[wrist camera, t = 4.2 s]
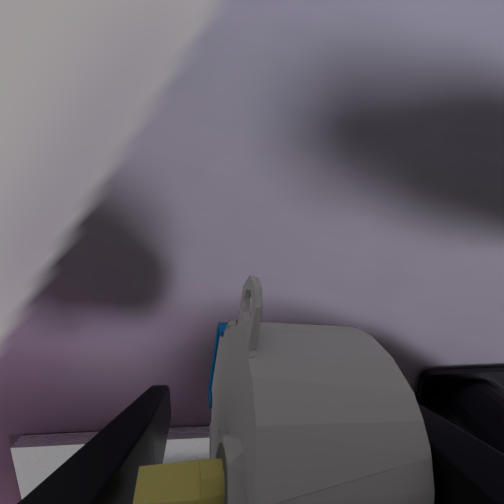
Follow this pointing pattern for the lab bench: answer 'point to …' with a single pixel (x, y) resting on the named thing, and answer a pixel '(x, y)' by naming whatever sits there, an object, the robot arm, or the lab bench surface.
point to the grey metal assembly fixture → (66, 444)
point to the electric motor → (301, 421)
